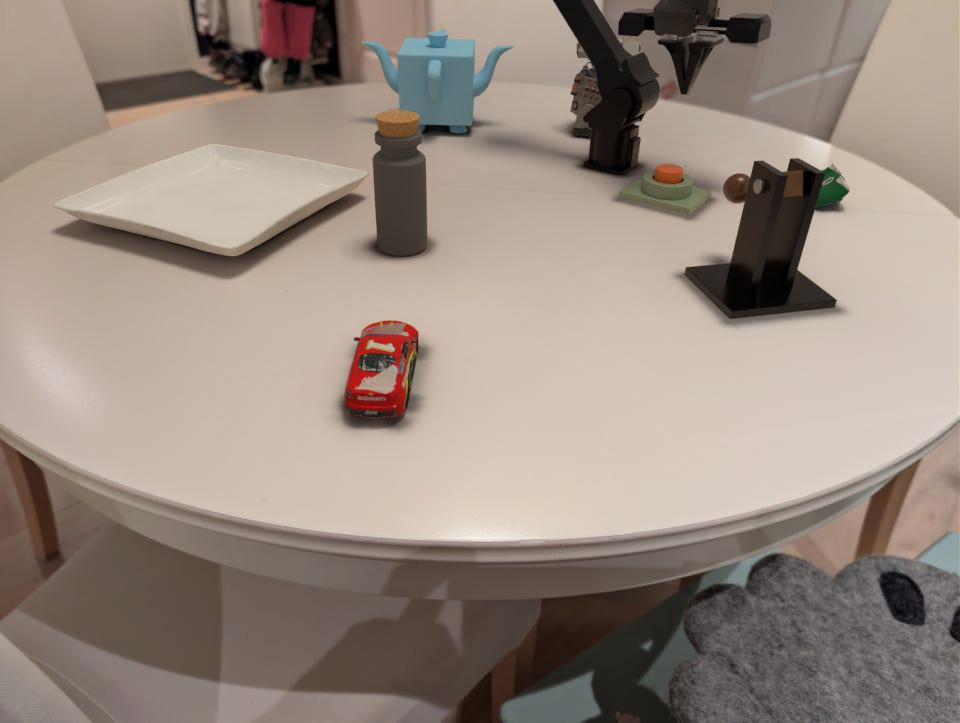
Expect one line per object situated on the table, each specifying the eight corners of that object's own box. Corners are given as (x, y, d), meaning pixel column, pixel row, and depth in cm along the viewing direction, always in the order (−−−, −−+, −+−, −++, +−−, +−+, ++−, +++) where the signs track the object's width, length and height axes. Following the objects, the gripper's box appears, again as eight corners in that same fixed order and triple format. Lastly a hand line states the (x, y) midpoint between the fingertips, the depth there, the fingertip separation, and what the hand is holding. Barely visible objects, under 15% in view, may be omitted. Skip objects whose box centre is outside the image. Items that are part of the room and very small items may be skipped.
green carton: (813, 224, 100) (856, 197, 97) (798, 203, 99) (841, 175, 96) (802, 199, 107) (842, 174, 104) (788, 179, 106) (828, 153, 103)
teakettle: (434, 147, 118) (433, 48, 109) (362, 121, 128) (356, 29, 120) (515, 125, 129) (520, 34, 121) (442, 103, 140) (442, 18, 132)
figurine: (631, 143, 122) (645, 46, 113) (563, 135, 124) (571, 39, 116) (638, 128, 129) (651, 35, 121) (573, 121, 132) (582, 30, 123)
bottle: (435, 239, 88) (433, 111, 80) (415, 259, 84) (411, 126, 75) (390, 232, 90) (384, 105, 82) (368, 251, 85) (360, 119, 77)
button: (649, 181, 99) (651, 169, 98) (660, 174, 102) (662, 162, 101) (675, 187, 98) (677, 174, 97) (685, 180, 100) (687, 167, 99)
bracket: (683, 276, 82) (707, 153, 74) (779, 267, 84) (812, 147, 77) (729, 321, 74) (761, 189, 66) (834, 310, 76) (877, 180, 69)
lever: (717, 205, 82) (717, 175, 81) (743, 203, 82) (743, 173, 82) (778, 201, 71) (778, 167, 70) (807, 199, 72) (808, 165, 71)
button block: (618, 199, 101) (621, 178, 99) (642, 183, 106) (645, 162, 104) (688, 217, 96) (692, 195, 94) (710, 199, 102) (714, 178, 100)
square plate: (374, 196, 100) (372, 168, 97) (237, 280, 79) (231, 246, 77) (215, 163, 109) (210, 137, 106) (56, 231, 88) (46, 199, 86)
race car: (366, 337, 70) (363, 300, 68) (423, 340, 70) (423, 302, 68) (336, 423, 59) (331, 382, 57) (404, 427, 59) (402, 386, 57)
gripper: (603, -32, 92) (596, 99, 100) (754, -29, 83) (733, 114, 91) (640, -38, 100) (631, 83, 108) (782, -36, 90) (760, 96, 99)
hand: (684, 94), depth 101 cm, fingers closed
